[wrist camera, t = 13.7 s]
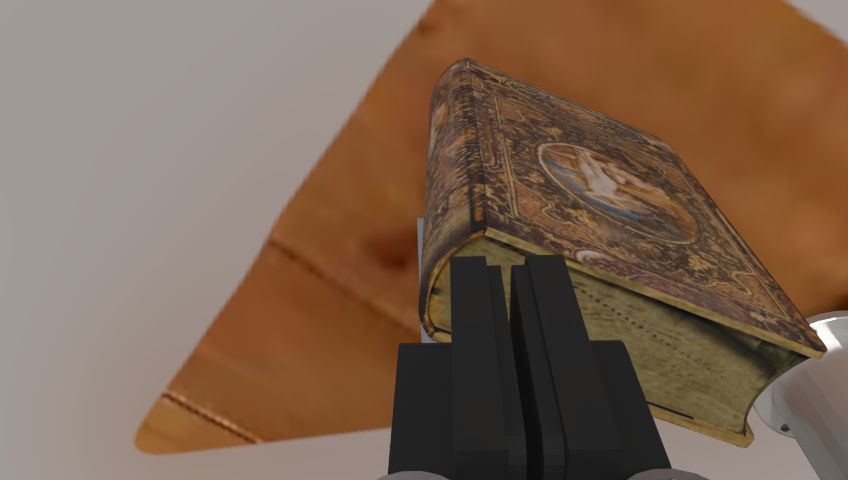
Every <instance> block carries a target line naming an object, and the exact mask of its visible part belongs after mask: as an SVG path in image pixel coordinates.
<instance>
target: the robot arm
mask: <svg viewBox="0 0 848 480" xmlns="http://www.w3.org/2000/svg"><path fill="white" fill-rule="evenodd" d="M450 300H451V342H448V343H400V344H399V349H398V360H397V372H396V384H395V396H394V407H393V419H392V431H391V444H390V455H389V467H388V475H386V476H383V477H381V478H379V479H377V480H709V479H707V478H705V477H702V476H700V475H698V474H695V473H691V472H686V471H682V470H677V469H672V467H671V464H670V462H669V459H668V456H667V454H666V451H665V448H664V446H663V443H662V441H661V438H660V435H659V433H658V430H657V427H656V425H655V422H654V419H653V417H652V414H651V411H650V409H649V406H648V404H647V401H646V398H645V396H644V393H643V390H642V388H641V385H640V382H639V380H638V377H637V374H636V372H635V369H634V366H633V364H632V361H631V359H630V356H629V353H628V351H627V348H626V346H625V344H624V342H622V341H621V340H589V336H588V333H587V330H586V327H585V323H584V320H583V317H582V314H581V310H580V307H579V304H578V301H577V297H576V294H575V291H574V288H573V284H572V281H571V278H570V275H569V271H568V268H567V265H566V262H565V258H564V256H563V255H562V254H561V255H526V256H525V260H524V265H512V266H511V276H510V312H509V319H508V312H507V306H506V299H505V292H504V285H503V279H502V272H501V266H500V265H487V261H486V256H453V257H450ZM805 320H806V321H807V322H808V323H809V325H810V326H811V327H812V329H813V330H814V331H815V332H816V334H817V335H818V336H819V338H820V339H821V340H822V341H823V343H824V344H825V345H826V347H827V350H828V351H827V352H826V354H825V355H824V356H823V357H822V358H821V359H814V358H810V359H807V360H806V361H804V362H802V363H800V364H798V365H797V366H795V367H793V368H792V369H790V370H789V371H787V372H785V373H784V374H783V375H781V376H780V377H779V378H777V379H776V380H775V381H774V382H772V383H771V384H770V385H769V386H768V387H767V388H766V389H765V390H764V391H763V392H762V393H761V394H760V395H759V397H758V398H757V399H756V400H755V402H754V404H753V407H754V408H755V411H756V412H757V414H758V415H759V417H760V418H761V419H762V421H763V422H764V423H765V424H766V425H768V426H769V427H770V428H771V429H773V430H774V431H776V432H778V433H780V434H782V435H785V436H788V437H791V438H794V439H796V441H797V442H798V444H799V445H800V447H801V449H802V450H803V452H804V454H805V455H806V457H807V458H808V460H809V462H810V464H811V465H812V467H813V469H814V470H815V472H816V474H817V475H818V477H819V478H820V480H848V311H834V312H828V313H822V314H819V315H815V316H812V317H809V318H806V319H805Z"/></svg>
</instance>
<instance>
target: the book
mask: <svg viewBox="0 0 848 480" xmlns="http://www.w3.org/2000/svg"><path fill="white" fill-rule="evenodd" d="M561 254H562V255H563V256H564V258H565V262H566V265H567V268H568V271H569V275H570V278H571V281H572V284H573V288H574V291H575V294H576V297H577V301H578V304H579V307H580V310H581V314H582V317H583V320H584V323H585V327H586V330H587V333H588V336H589V340H621V341H622V342H624V344H625V346H626V348H627V351H628V353H629V356H630V359H631V361H632V364H633V366H634V369H635V372H636V374H637V377H638V380H639V382H640V385H641V388H642V390H643V393H644V396H645V398H646V401H647V404H648V406H649V409H650V411H651V414H652V417H655V418H658V419H661V420H664V421H667V422H669V423H672V424H675V425H678V426H681V427H684V428H687V429H690V430H693V431H695V432H698V433H701V434H704V435H707V436H710V437H713V438H716V439H718V440H721V441H724V442H727V443H730V444H733V445H736V446H739V447H742V448H747V447H748V446H749V445H750V444H751V443H752V442H753V440H754V434H753V432H752V430H751V428H750V426H749V424H748V422H747V416H748V413H749V411H750V409H751V407H752V405H753V404H754V402H755V400H756V399H757V398H758V397H759V395H760V394H761V393H762V392H763V391H764V390H765V389H766V388H767V387H768V386H769V385H770V384H771V383H772V382H774V381H775V380H776V379H777V378H779V377H780V376H781V375H783V374H784V373H785V372H787V371H789V370H790V369H792V368H793V367H795V366H797V365H798V364H800V363H802V362H804V361H806V360H807V359H810V358H814V359H821V358H822V357H823V356H824V355H825V354H826V352H827V351H828V350H827V347H826V345H825V344H824V343H823V341H822V340H821V339H820V338H819V336H818V335H817V334H816V332H815V331H814V330H813V329H812V327H811V326H810V325H809V323H808V322H807V321H806V320H805V318H804V317H803V316H802V314H801V313H800V312H799V311H798V309H797V308H796V307H795V305H794V304H793V303H792V301H791V300H790V299H789V298H788V296H787V295H786V294H785V292H784V291H783V290H782V289H781V287H780V286H779V285H778V283H777V282H776V281H775V280H774V278H773V277H772V276H771V274H770V273H769V272H768V271H767V269H766V268H765V267H764V265H763V264H762V263H761V262H760V260H759V259H758V258H757V256H756V255H755V254H754V253H753V251H752V250H751V249H750V247H749V246H748V245H747V244H746V242H745V241H744V240H743V238H742V237H741V236H740V235H739V233H738V232H737V231H736V229H735V228H734V227H733V226H732V224H731V223H730V222H729V220H728V219H727V218H726V217H725V215H724V214H723V213H722V211H721V210H720V209H719V208H718V206H717V205H716V204H715V202H714V201H713V200H712V199H711V197H710V196H709V195H708V193H707V192H706V191H705V189H704V188H703V187H702V186H701V184H700V183H699V182H698V180H697V179H696V178H695V177H694V175H693V174H692V173H691V171H690V170H689V169H688V168H687V166H686V165H685V164H684V162H683V161H682V160H681V159H680V157H679V156H678V155H677V154H676V152H675V151H674V150H673V149H672V148H671V147H670V146H669V145H668V144H667V143H665V142H664V141H663V140H661V139H659V138H657V137H655V136H653V135H650V134H648V133H646V132H643V131H641V130H639V129H636V128H634V127H632V126H629V125H627V124H625V123H622V122H620V121H618V120H615V119H613V118H611V117H608V116H606V115H603V114H601V113H599V112H596V111H594V110H591V109H589V108H587V107H584V106H582V105H579V104H577V103H574V102H572V101H570V100H567V99H565V98H562V97H560V96H558V95H555V94H553V93H550V92H548V91H546V90H543V89H541V88H538V87H536V86H534V85H531V84H529V83H526V82H524V81H522V80H519V79H517V78H514V77H512V76H510V75H507V74H505V73H502V72H500V71H498V70H495V69H493V68H490V67H488V66H486V65H483V64H481V63H478V62H476V61H473V60H471V59H469V58H466V59H462V60H459V61H457V62H455V63H454V64H452V65H451V66H450V67H449V68H448V69H447V70H446V71H445V72H444V73H443V74H442V76H441V77H440V79H439V80H438V82H437V84H436V86H435V88H434V91H433V94H432V97H431V102H430V115H429V133H428V151H427V168H426V186H425V204H424V221H423V239H422V257H421V274H420V292H419V316H420V321H421V324H422V327H423V329H424V331H425V332H426V334H427V335H428V337H429V338H430V339H431V340H433V341H435V342H438V343H448V342H451V300H450V257H453V256H486V261H487V265H500V266H501V272H502V279H503V285H504V292H505V299H506V306H507V312H508V319H509V312H510V276H511V266H512V265H524V260H525V256H526V255H561Z"/></svg>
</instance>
